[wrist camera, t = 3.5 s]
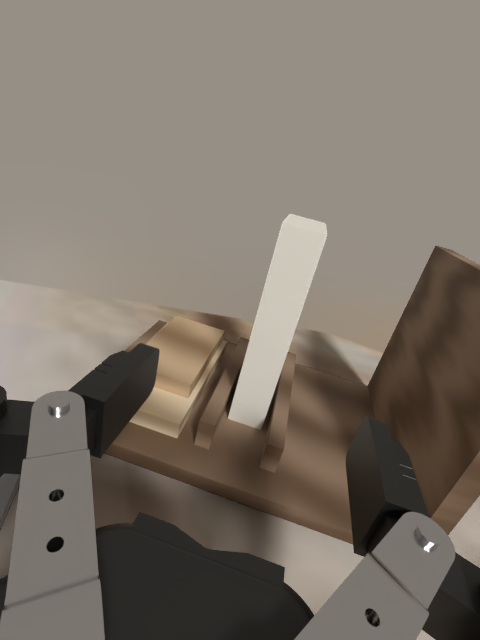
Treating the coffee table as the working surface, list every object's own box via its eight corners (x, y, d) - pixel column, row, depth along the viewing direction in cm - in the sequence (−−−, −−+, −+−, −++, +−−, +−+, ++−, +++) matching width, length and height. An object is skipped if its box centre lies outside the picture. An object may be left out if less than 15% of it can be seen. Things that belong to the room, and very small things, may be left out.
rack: (421, 569, 18) (609, 331, 12) (46, 431, 21) (40, 173, 14) (375, 398, 33) (450, 249, 26) (158, 328, 35) (179, 177, 29)
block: (261, 430, 24) (327, 234, 18) (227, 418, 24) (282, 222, 18) (271, 386, 29) (325, 223, 23) (243, 377, 29) (290, 213, 23)
